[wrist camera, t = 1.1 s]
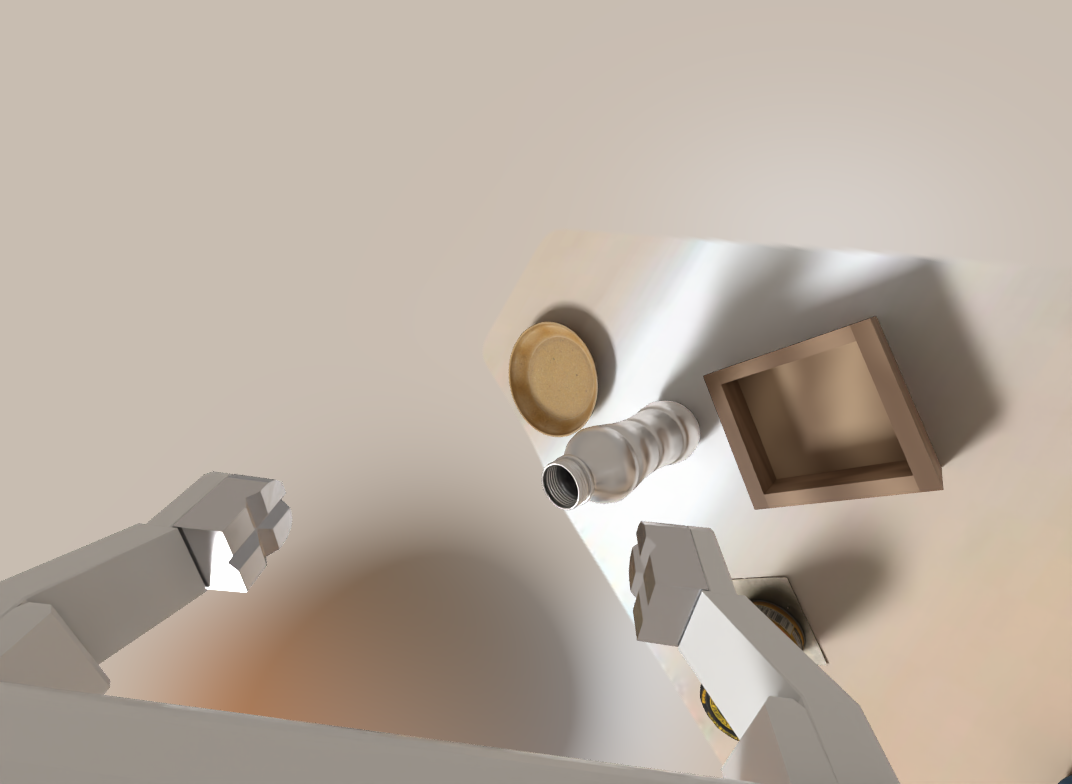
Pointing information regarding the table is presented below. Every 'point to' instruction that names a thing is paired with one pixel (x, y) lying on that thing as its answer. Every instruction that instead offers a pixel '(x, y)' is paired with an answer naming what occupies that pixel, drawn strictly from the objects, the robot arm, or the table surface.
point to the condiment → (791, 621)
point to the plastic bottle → (620, 455)
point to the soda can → (1066, 780)
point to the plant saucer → (553, 379)
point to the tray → (825, 421)
